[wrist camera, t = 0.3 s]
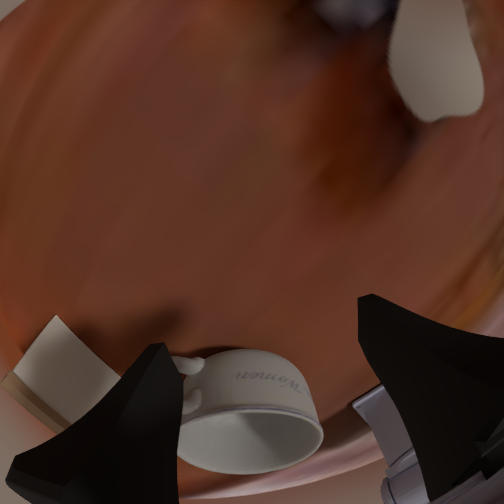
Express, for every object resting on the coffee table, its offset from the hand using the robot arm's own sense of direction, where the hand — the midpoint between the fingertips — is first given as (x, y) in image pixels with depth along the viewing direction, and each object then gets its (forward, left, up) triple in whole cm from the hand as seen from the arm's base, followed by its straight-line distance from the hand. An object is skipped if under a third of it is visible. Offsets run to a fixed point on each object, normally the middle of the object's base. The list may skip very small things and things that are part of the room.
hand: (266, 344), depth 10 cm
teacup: (-8, +7, -10) cm, 15 cm away
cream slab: (-3, +17, -10) cm, 20 cm away
